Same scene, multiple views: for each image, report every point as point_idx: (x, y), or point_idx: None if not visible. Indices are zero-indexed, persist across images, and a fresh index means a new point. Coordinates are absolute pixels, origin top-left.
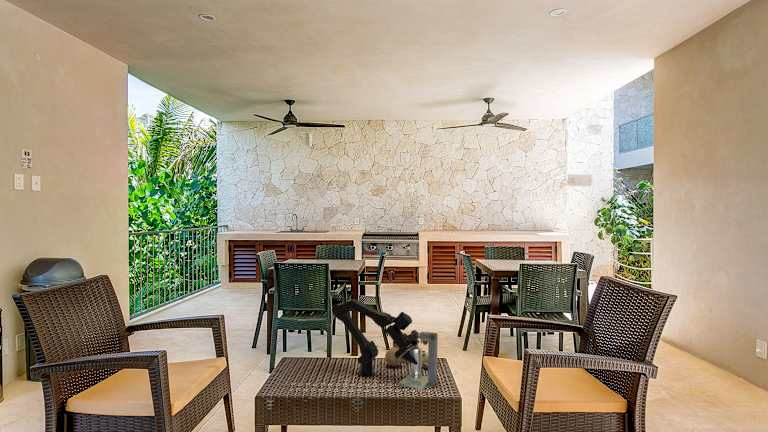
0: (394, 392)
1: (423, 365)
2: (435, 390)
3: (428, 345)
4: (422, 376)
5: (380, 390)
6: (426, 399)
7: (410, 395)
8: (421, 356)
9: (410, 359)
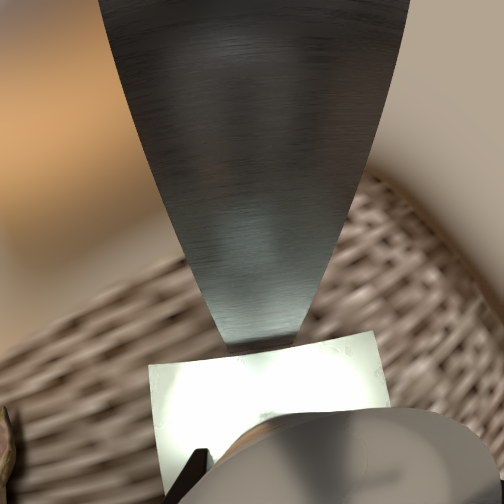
0: (490, 425)
1: (6, 482)
2: (328, 269)
3: (408, 5)
4: (174, 445)
5: None
6: (451, 248)
7: (472, 336)
8: (279, 418)
9: None
